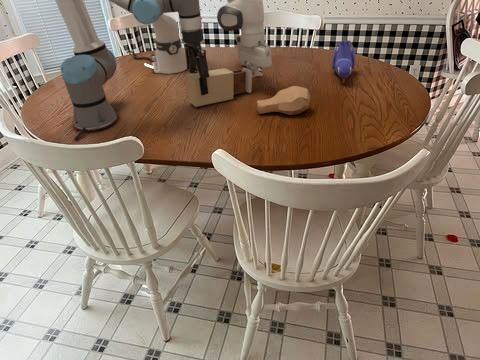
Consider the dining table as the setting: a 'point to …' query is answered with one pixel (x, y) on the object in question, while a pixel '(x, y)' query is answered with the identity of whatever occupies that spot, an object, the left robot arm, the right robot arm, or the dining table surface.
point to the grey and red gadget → (248, 65)
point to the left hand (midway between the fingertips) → (200, 91)
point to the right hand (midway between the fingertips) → (254, 74)
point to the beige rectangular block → (211, 87)
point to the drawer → (243, 80)
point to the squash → (286, 101)
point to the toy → (343, 59)
